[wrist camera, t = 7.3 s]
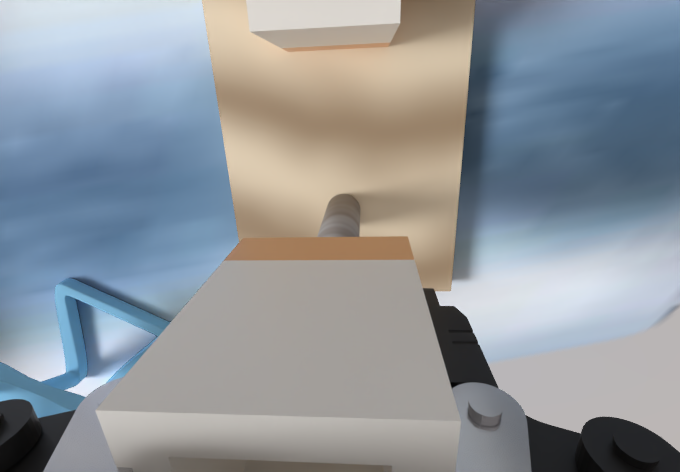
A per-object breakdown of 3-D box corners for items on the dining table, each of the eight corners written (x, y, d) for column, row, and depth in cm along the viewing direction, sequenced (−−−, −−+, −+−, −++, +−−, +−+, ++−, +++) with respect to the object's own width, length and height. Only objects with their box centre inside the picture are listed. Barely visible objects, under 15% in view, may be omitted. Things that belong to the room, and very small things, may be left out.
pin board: (192, -132, 15) (23, -351, 8) (481, -159, 14) (608, -436, 7) (252, 281, 23) (196, 376, 15) (446, 281, 22) (489, 381, 14)
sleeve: (243, 237, 10) (94, 411, 5) (407, 236, 10) (460, 420, 4) (262, 367, 12) (170, 609, 6) (403, 370, 12) (436, 628, 6)
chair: (46, 361, 27) (-184, 557, 15) (67, 274, 23) (-201, 441, 12) (145, 403, 27) (-5, 616, 16) (178, 325, 24) (21, 522, 13)
